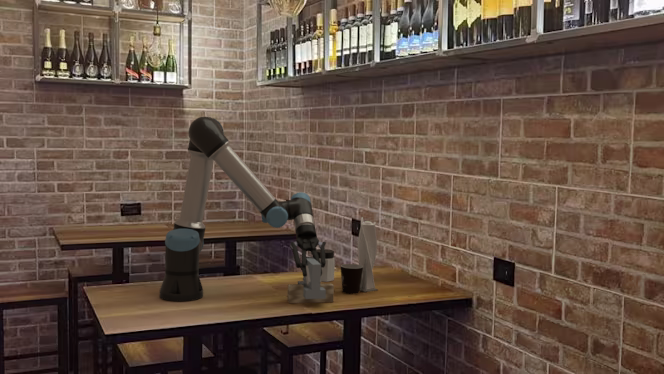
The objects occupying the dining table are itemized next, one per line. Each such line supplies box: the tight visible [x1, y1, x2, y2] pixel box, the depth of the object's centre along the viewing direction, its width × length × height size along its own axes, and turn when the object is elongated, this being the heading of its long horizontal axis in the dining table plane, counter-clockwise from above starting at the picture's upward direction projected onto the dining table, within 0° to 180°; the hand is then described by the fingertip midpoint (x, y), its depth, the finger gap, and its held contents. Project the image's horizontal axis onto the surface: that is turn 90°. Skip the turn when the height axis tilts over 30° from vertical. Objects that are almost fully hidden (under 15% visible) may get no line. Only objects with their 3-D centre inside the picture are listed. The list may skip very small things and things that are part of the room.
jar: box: [316, 248, 336, 283], centre depth 264 cm, size 9×8×12 cm
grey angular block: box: [297, 256, 326, 299], centre depth 228 cm, size 14×7×12 cm, turn 15°
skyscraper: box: [357, 216, 379, 293], centre depth 250 cm, size 8×8×28 cm
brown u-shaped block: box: [287, 283, 335, 304], centre depth 228 cm, size 16×3×6 cm, turn 105°
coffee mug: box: [340, 263, 363, 295], centre depth 246 cm, size 12×9×10 cm
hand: (314, 283), depth 224 cm, fingers closed on grey angular block, 3 cm apart
